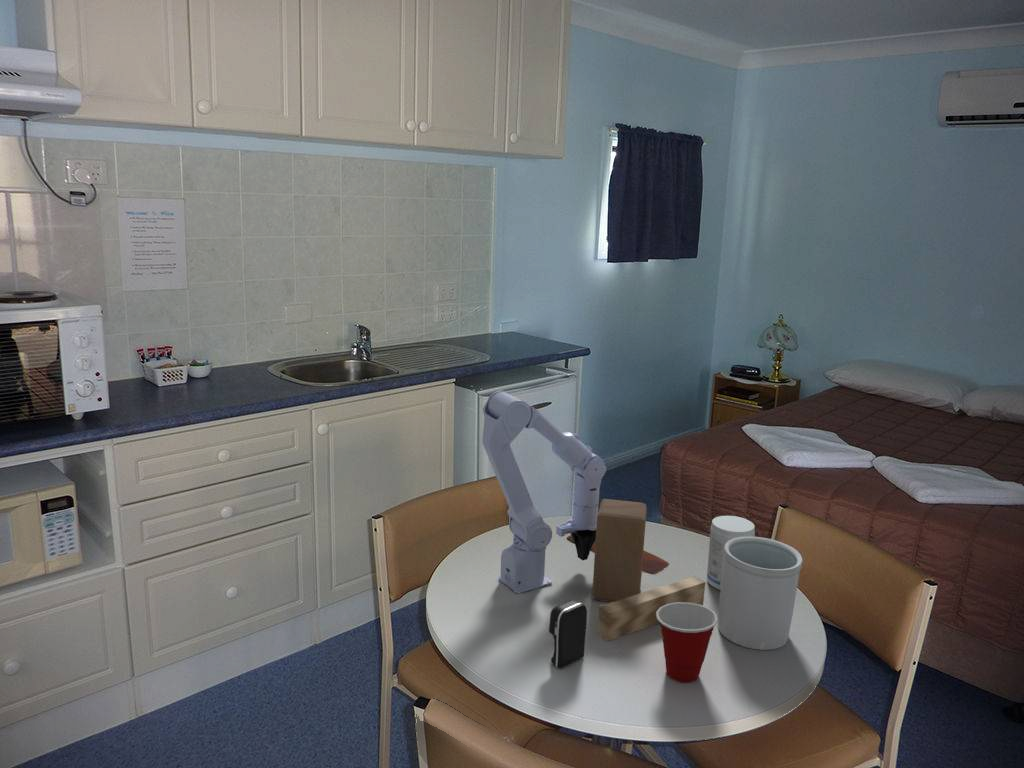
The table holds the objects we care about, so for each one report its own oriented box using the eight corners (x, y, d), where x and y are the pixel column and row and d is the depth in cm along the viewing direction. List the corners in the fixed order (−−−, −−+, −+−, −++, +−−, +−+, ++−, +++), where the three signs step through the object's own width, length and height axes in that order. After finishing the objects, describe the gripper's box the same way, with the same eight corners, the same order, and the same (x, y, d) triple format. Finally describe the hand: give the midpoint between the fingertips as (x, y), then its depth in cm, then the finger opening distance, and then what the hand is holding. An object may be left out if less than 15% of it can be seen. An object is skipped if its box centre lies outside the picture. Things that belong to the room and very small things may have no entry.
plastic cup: (669, 649, 151) (674, 592, 149) (721, 672, 145) (728, 613, 142) (640, 673, 143) (644, 614, 141) (693, 699, 137) (700, 637, 134)
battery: (571, 648, 151) (574, 594, 148) (585, 657, 148) (588, 602, 145) (544, 661, 146) (547, 605, 143) (558, 671, 143) (562, 614, 141)
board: (607, 641, 154) (609, 613, 152) (597, 633, 156) (599, 606, 155) (702, 607, 167) (705, 581, 166) (692, 601, 170) (695, 576, 168)
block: (638, 607, 167) (645, 519, 162) (591, 601, 169) (596, 513, 164) (640, 585, 176) (647, 501, 172) (596, 579, 178) (601, 496, 174)
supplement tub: (750, 578, 181) (757, 519, 178) (748, 597, 172) (755, 535, 169) (707, 570, 184) (713, 512, 181) (703, 589, 176) (709, 527, 172)
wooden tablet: (563, 541, 199) (563, 535, 198) (589, 530, 206) (589, 524, 205) (650, 579, 180) (650, 572, 180) (675, 566, 187) (675, 559, 187)
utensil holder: (799, 626, 161) (809, 547, 157) (783, 661, 149) (794, 576, 145) (727, 606, 169) (735, 530, 164) (706, 637, 156) (714, 556, 152)
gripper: (570, 515, 172) (567, 572, 175) (621, 503, 179) (618, 558, 183) (551, 504, 177) (549, 559, 181) (602, 493, 185) (598, 546, 188)
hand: (582, 558), depth 182 cm, fingers closed
